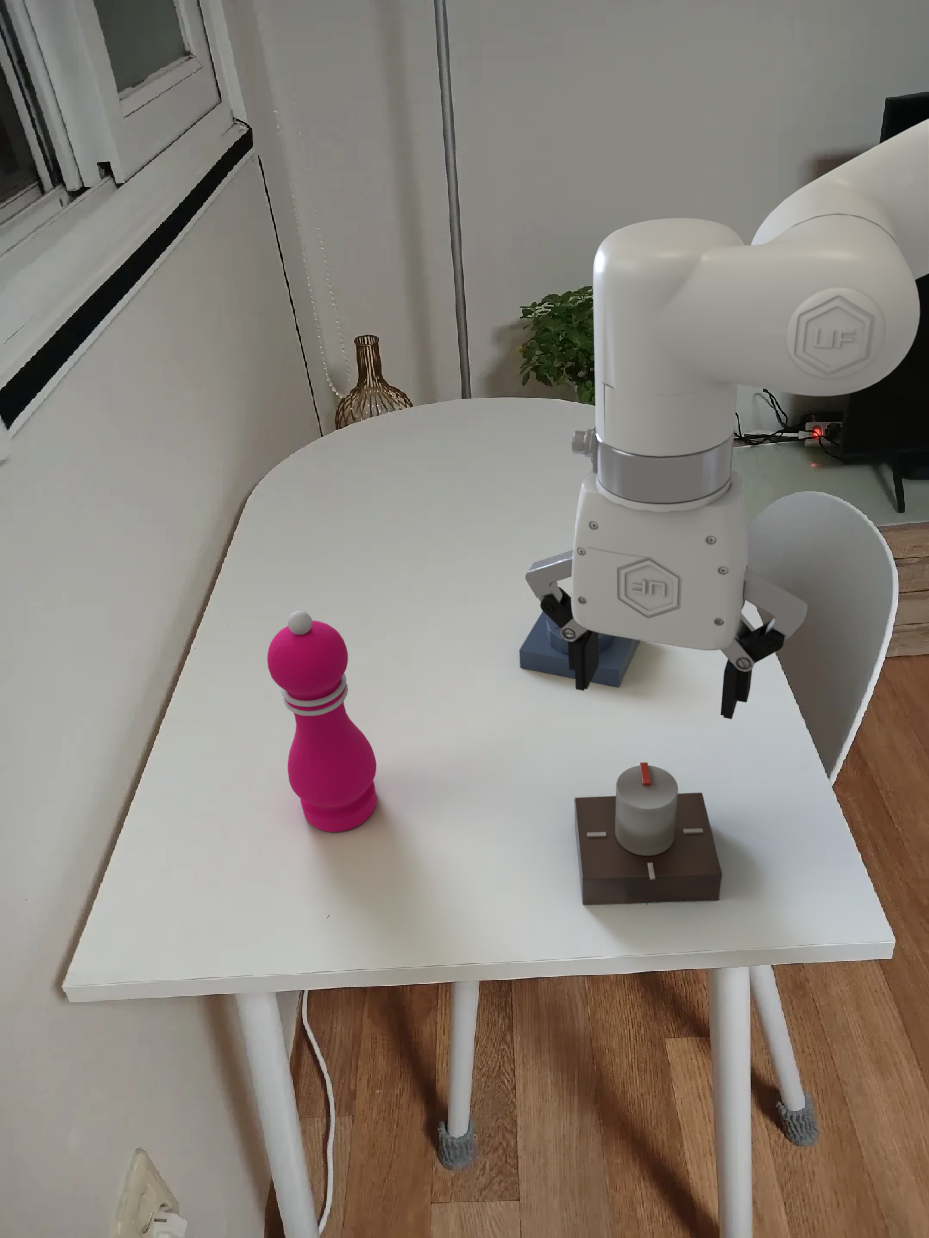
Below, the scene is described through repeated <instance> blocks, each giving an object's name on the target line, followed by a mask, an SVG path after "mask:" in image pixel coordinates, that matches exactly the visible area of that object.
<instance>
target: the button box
mask: <svg viewBox="0 0 929 1238" xmlns="http://www.w3.org/2000/svg"><path fill="white" fill-rule="evenodd" d="M560 631H561V628H560V627H559V626H558V625H557V624H556V623H555V622H554V621H553V620H551V619H550V618H549V617H548V616H547V615H546V614H545V613H544V612H543V611H542V610H541V613H540V615H539V616H538V618H537V620H536V622H535V623H534V625H533V626H532V628H531V630H530V632H529V633H528V635H527V637H526V638H525V640H524V641H523V642H522V645H521V646H520V647H519V650H518V655H519V667H520V668H521V669H524V670H525V669H526V670H530V671H535V672H541V673H545V674H550V675H556V676H560V677H565V678H570V679H574V680H575V671H573V670H570V669H569V658H568V641H567V640H565V639H563V637H562V636H561V634H560ZM598 640H599V665H598V668H597V670H596V672H595V674H594V676H593V678H592V680H591V682H590V683H595V684H600V685H605V686H608V687H609V686H611V687H614V688H619V687H620V685H621V683H622V681H623V679H624V677H625V674H626V672H627V670H628V668H629V665H630V663H631V661H632V658H633V657H634V654H635V652H636V650H637V648H638V645H639V644H640V641H641V640H636V639H630V638H624V637H619V636H613V635H607V634H603V633H598Z"/></svg>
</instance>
